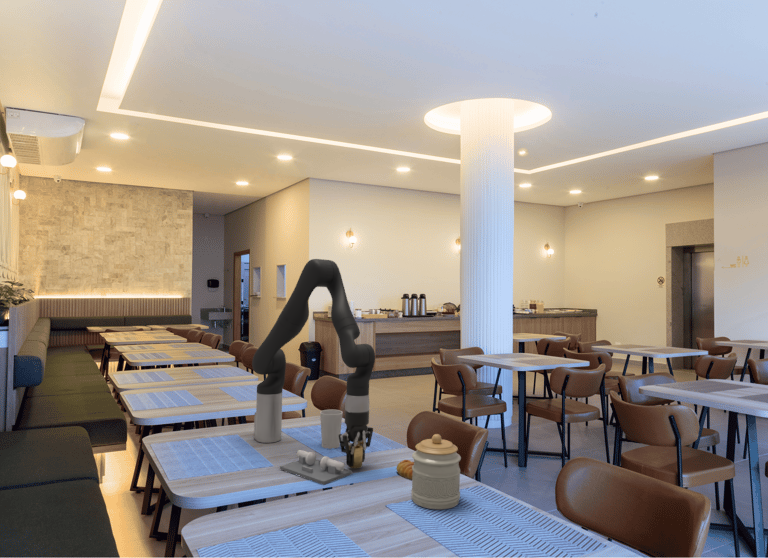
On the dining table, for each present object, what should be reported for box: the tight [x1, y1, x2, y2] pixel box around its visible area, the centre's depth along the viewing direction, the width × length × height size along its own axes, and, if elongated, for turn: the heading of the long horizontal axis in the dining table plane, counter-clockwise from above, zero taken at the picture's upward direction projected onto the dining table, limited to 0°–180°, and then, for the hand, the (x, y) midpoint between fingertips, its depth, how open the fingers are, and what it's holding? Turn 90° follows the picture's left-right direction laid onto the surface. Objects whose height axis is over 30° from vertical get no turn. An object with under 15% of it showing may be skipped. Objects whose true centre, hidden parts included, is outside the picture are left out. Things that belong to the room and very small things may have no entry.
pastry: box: [395, 459, 414, 480], centre depth 162 cm, size 9×7×4 cm
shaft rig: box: [279, 449, 353, 486], centre depth 163 cm, size 19×12×5 cm, turn 51°
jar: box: [410, 433, 462, 510], centre depth 144 cm, size 13×13×18 cm
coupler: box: [347, 443, 363, 469], centre depth 167 cm, size 4×4×7 cm
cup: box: [319, 409, 344, 450], centre depth 190 cm, size 8×8×12 cm
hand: (355, 463), depth 167 cm, fingers closed on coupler, 4 cm apart
